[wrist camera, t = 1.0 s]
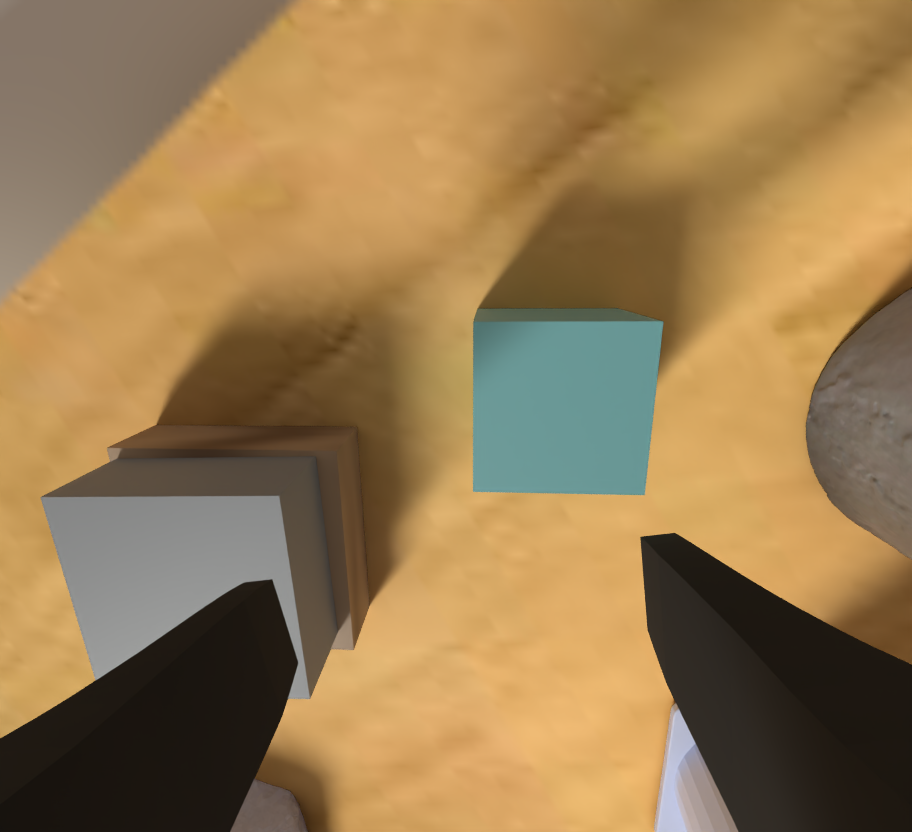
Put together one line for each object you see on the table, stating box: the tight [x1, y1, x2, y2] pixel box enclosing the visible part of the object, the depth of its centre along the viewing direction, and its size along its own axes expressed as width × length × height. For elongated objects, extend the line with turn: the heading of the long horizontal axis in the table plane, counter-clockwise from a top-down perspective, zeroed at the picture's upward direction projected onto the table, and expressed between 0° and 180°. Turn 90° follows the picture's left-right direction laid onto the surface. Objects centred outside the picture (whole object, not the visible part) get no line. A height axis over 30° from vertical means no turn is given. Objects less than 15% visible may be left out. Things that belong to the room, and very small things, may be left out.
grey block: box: [41, 456, 338, 699], centre depth 16 cm, size 7×7×3 cm
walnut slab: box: [107, 425, 370, 650], centre depth 19 cm, size 8×8×3 cm
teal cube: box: [473, 308, 663, 495], centre depth 16 cm, size 5×5×5 cm
